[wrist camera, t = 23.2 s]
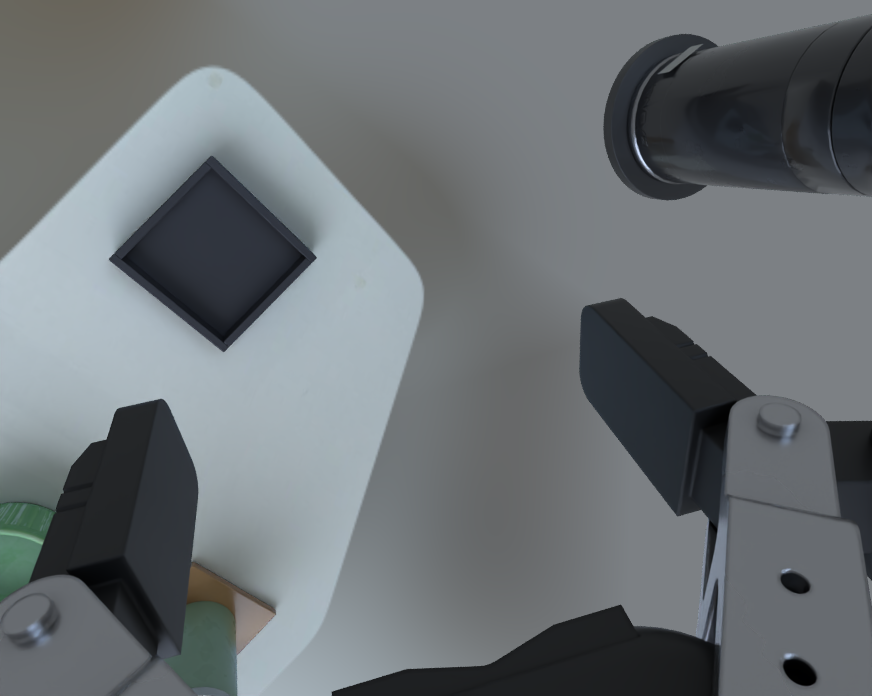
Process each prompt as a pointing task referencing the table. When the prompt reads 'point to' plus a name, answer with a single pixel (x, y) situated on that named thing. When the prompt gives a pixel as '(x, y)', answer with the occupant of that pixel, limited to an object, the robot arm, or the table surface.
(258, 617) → the coaster
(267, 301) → the tray
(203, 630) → the tin
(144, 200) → the table surface
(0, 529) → the ramekin
